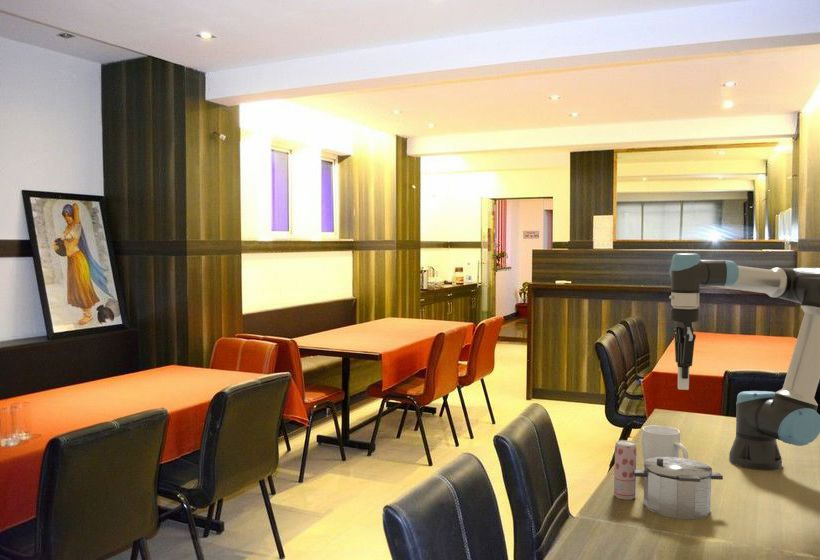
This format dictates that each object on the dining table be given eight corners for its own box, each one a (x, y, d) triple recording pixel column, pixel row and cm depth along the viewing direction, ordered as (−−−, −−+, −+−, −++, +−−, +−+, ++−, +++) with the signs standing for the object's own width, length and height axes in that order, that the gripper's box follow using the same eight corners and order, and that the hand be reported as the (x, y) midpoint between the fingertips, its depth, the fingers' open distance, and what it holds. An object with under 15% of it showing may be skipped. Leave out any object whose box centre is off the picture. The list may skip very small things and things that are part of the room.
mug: (698, 476, 210) (699, 434, 209) (675, 483, 204) (676, 439, 203) (656, 463, 222) (657, 423, 222) (633, 469, 216) (634, 428, 215)
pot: (710, 498, 192) (711, 462, 192) (731, 521, 176) (732, 482, 176) (626, 494, 194) (627, 459, 194) (640, 517, 178) (641, 478, 178)
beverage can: (609, 494, 195) (610, 441, 194) (625, 491, 197) (626, 439, 196) (623, 501, 190) (624, 446, 189) (639, 498, 192) (641, 444, 191)
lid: (699, 461, 193) (699, 451, 193) (724, 483, 173) (724, 472, 173) (636, 459, 195) (637, 449, 195) (655, 481, 175) (655, 470, 175)
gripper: (665, 305, 206) (663, 384, 208) (678, 309, 193) (676, 393, 195) (691, 305, 206) (689, 384, 207) (705, 309, 193) (704, 394, 194)
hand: (683, 389), depth 201 cm, fingers closed
